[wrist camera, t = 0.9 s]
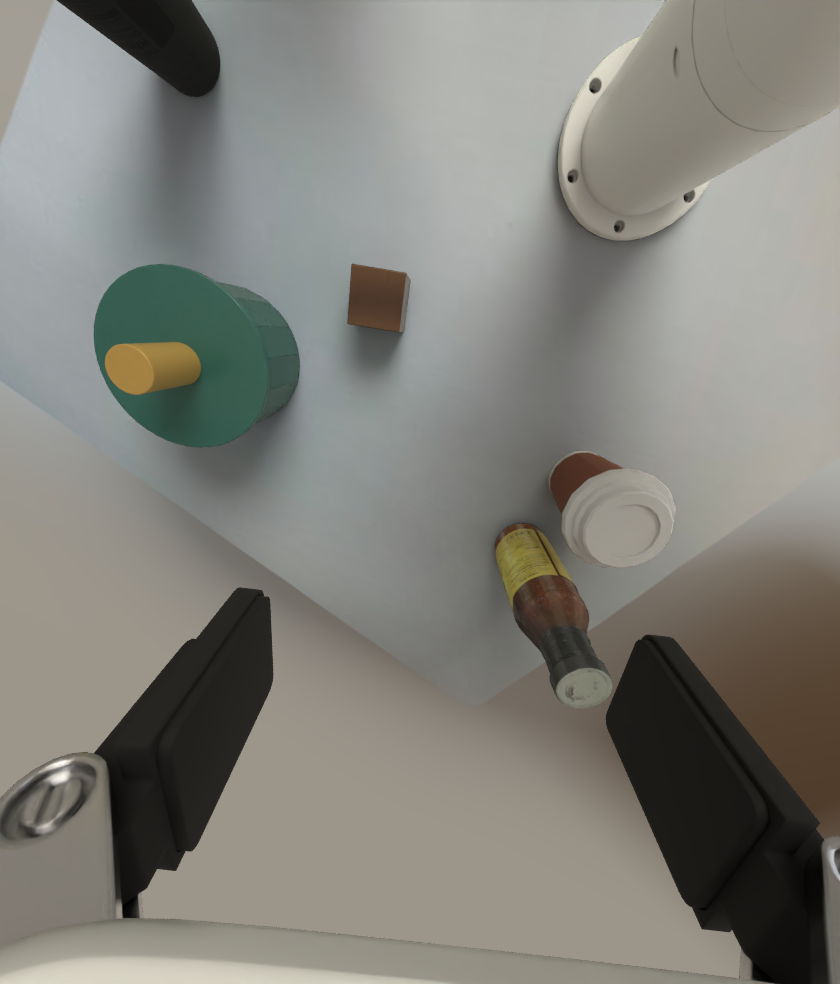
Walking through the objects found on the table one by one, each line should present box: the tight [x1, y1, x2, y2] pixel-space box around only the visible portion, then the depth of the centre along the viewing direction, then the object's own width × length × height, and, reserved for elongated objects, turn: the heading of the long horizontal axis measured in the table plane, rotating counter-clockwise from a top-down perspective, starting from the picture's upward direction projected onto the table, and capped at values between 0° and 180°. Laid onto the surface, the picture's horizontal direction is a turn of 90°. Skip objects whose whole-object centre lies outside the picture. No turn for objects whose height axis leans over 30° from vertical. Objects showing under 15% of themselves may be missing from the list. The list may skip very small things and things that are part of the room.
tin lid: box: [94, 264, 270, 447], centre depth 28 cm, size 14×14×7 cm
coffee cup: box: [549, 451, 676, 568], centre depth 36 cm, size 9×9×12 cm
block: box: [348, 264, 410, 332], centre depth 34 cm, size 4×4×4 cm
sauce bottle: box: [495, 523, 612, 709], centre depth 36 cm, size 7×6×20 cm
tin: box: [217, 282, 300, 424], centre depth 35 cm, size 13×13×8 cm
